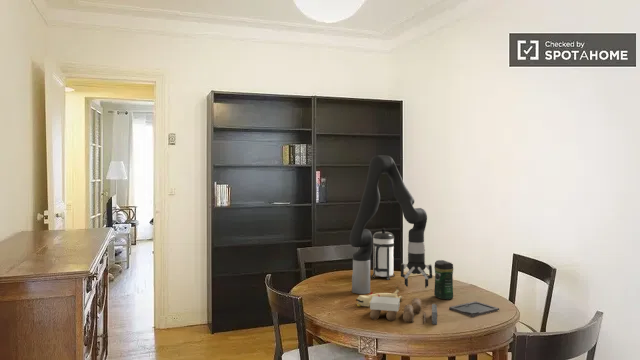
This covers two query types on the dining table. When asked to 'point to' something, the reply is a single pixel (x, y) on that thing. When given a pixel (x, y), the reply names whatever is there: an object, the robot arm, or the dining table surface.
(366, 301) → the cat figure
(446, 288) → the coffee jar
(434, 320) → the block
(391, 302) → the slab
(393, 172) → the robot arm
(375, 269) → the coffee press
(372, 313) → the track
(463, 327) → the dining table surface
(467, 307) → the picture frame
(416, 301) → the roller
